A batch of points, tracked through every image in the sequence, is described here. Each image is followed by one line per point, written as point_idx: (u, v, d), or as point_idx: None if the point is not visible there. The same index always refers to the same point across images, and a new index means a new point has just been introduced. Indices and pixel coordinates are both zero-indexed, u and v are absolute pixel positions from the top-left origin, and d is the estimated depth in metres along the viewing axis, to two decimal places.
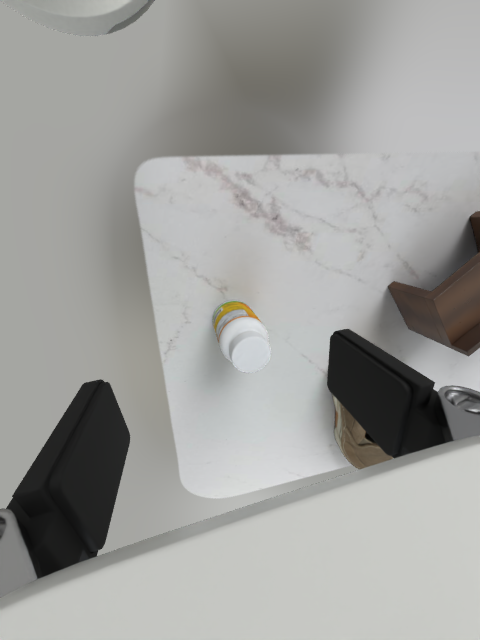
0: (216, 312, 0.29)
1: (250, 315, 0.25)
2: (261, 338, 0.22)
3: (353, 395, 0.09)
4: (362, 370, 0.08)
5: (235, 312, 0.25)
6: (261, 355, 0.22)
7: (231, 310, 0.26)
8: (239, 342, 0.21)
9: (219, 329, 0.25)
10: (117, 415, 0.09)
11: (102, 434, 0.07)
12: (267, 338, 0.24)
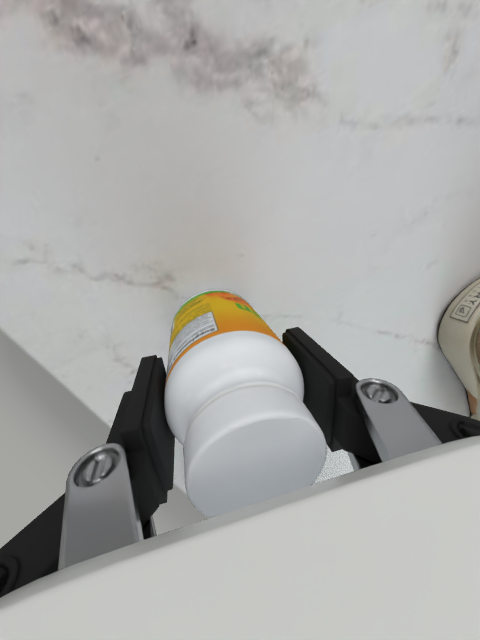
0: None
1: (224, 325, 0.09)
2: (267, 415, 0.06)
3: None
4: (303, 365, 0.09)
5: (187, 329, 0.10)
6: (294, 457, 0.06)
7: (183, 326, 0.10)
8: (192, 465, 0.05)
9: None
10: None
11: (163, 399, 0.08)
12: (294, 370, 0.08)
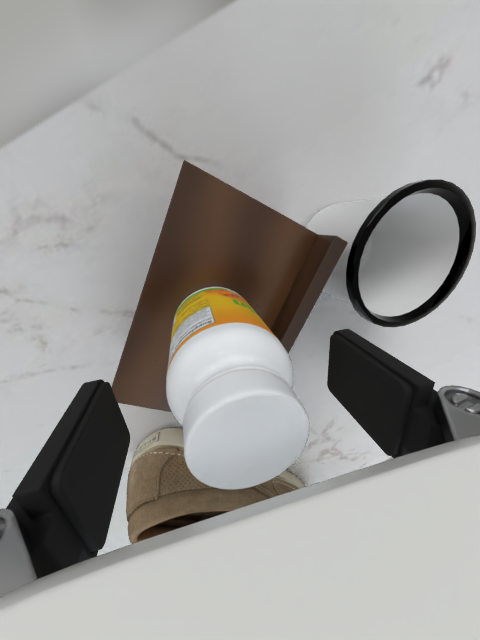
0: None
1: (220, 317, 0.10)
2: (254, 392, 0.06)
3: (353, 395, 0.09)
4: (362, 370, 0.08)
5: (187, 322, 0.10)
6: (279, 431, 0.07)
7: (184, 320, 0.11)
8: (190, 434, 0.06)
9: None
10: (117, 415, 0.09)
11: (102, 434, 0.07)
12: (284, 358, 0.09)
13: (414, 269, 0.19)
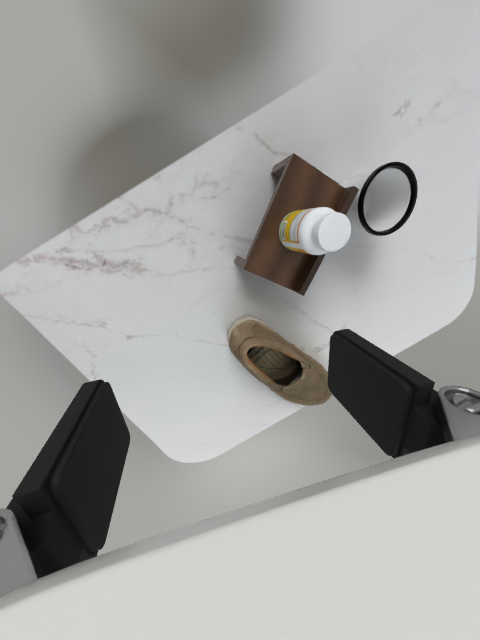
0: (281, 228, 0.32)
1: None
2: (338, 213, 0.24)
3: (353, 395, 0.09)
4: (362, 370, 0.08)
5: (301, 213, 0.28)
6: (343, 229, 0.25)
7: (297, 214, 0.29)
8: (321, 224, 0.24)
9: (294, 232, 0.28)
10: (117, 415, 0.09)
11: (102, 434, 0.07)
12: None
13: (391, 211, 0.37)
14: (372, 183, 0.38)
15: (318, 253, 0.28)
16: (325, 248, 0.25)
